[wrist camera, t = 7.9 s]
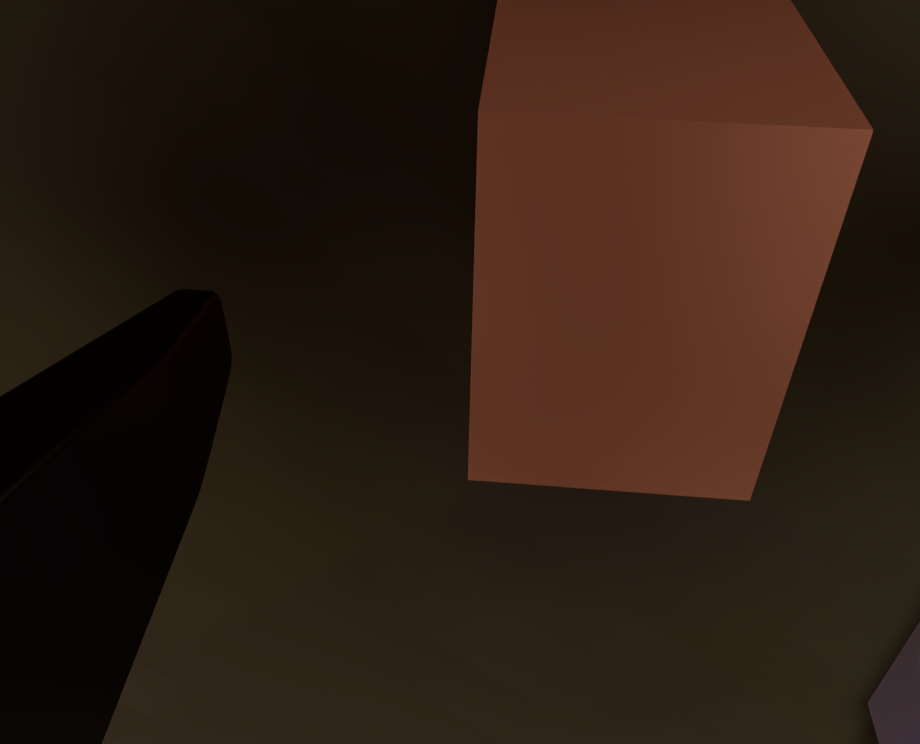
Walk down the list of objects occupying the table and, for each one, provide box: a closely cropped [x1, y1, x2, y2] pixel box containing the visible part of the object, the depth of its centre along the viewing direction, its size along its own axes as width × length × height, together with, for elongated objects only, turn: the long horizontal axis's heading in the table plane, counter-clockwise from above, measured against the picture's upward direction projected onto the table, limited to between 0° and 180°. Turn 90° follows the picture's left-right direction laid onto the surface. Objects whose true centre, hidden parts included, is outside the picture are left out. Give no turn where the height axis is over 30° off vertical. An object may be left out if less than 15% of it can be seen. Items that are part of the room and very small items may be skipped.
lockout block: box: [468, 0, 873, 501], centre depth 12 cm, size 4×5×6 cm
